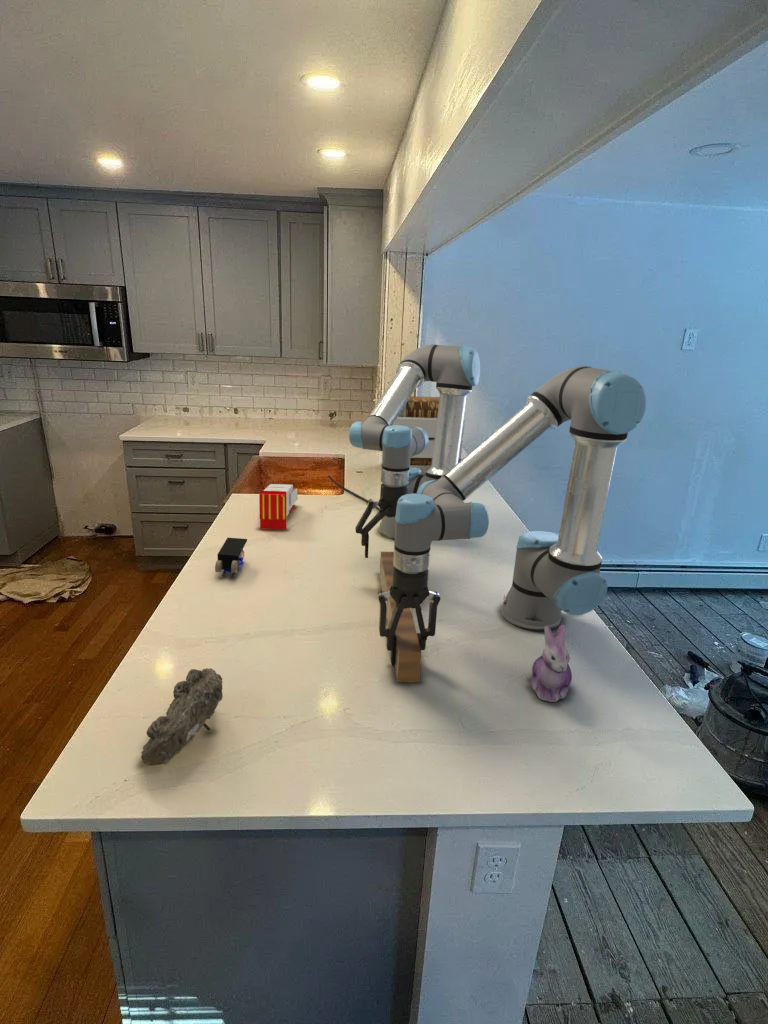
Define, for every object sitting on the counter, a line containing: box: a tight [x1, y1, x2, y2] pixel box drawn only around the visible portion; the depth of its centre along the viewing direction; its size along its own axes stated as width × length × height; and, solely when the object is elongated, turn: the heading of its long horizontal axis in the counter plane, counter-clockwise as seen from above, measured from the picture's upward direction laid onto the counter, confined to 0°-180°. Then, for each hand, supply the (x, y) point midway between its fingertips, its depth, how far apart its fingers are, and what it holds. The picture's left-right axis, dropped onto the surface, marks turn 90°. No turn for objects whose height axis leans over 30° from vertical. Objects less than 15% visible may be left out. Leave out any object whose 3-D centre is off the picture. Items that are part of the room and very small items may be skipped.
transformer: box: [392, 395, 465, 467], centre depth 268 cm, size 34×33×41 cm
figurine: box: [530, 624, 573, 703], centre depth 118 cm, size 9×10×15 cm
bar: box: [379, 551, 422, 683], centre depth 144 cm, size 52×5×8 cm, turn 5°
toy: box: [258, 483, 299, 530], centre depth 210 cm, size 12×13×30 cm
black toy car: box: [214, 537, 248, 578], centre depth 166 cm, size 7×8×15 cm
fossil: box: [140, 667, 224, 767], centre depth 103 cm, size 22×10×15 cm
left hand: (390, 556), depth 159 cm, fingers open, 13 cm apart
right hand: (404, 661), depth 127 cm, fingers closed on bar, 5 cm apart
